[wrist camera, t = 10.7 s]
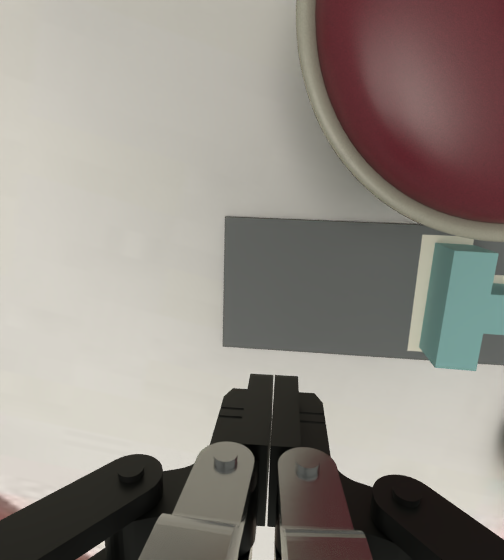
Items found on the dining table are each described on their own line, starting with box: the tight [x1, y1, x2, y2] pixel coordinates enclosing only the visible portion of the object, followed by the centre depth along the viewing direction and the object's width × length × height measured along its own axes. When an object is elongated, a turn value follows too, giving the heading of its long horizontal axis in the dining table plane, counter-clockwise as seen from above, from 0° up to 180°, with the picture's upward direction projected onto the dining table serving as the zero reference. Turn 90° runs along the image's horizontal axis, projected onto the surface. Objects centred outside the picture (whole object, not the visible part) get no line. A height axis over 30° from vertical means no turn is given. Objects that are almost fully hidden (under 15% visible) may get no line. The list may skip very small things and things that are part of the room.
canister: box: [296, 0, 504, 242], centre depth 21 cm, size 18×18×21 cm
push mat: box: [223, 217, 504, 365], centre depth 34 cm, size 12×28×1 cm, turn 88°
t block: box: [419, 243, 504, 371], centre depth 32 cm, size 9×9×4 cm
